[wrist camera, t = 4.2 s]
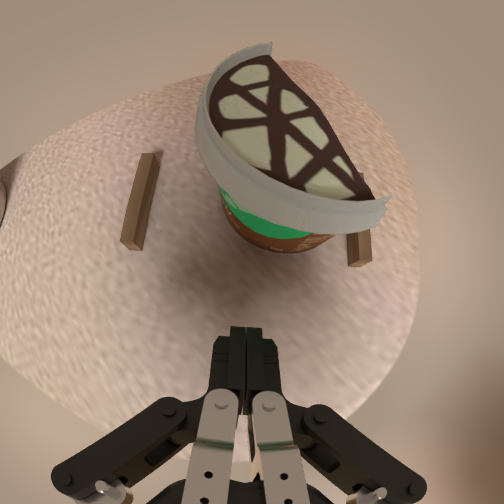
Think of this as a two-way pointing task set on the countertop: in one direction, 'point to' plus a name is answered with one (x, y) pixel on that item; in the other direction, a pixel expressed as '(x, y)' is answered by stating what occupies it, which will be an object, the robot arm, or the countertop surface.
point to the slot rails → (142, 201)
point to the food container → (278, 158)
